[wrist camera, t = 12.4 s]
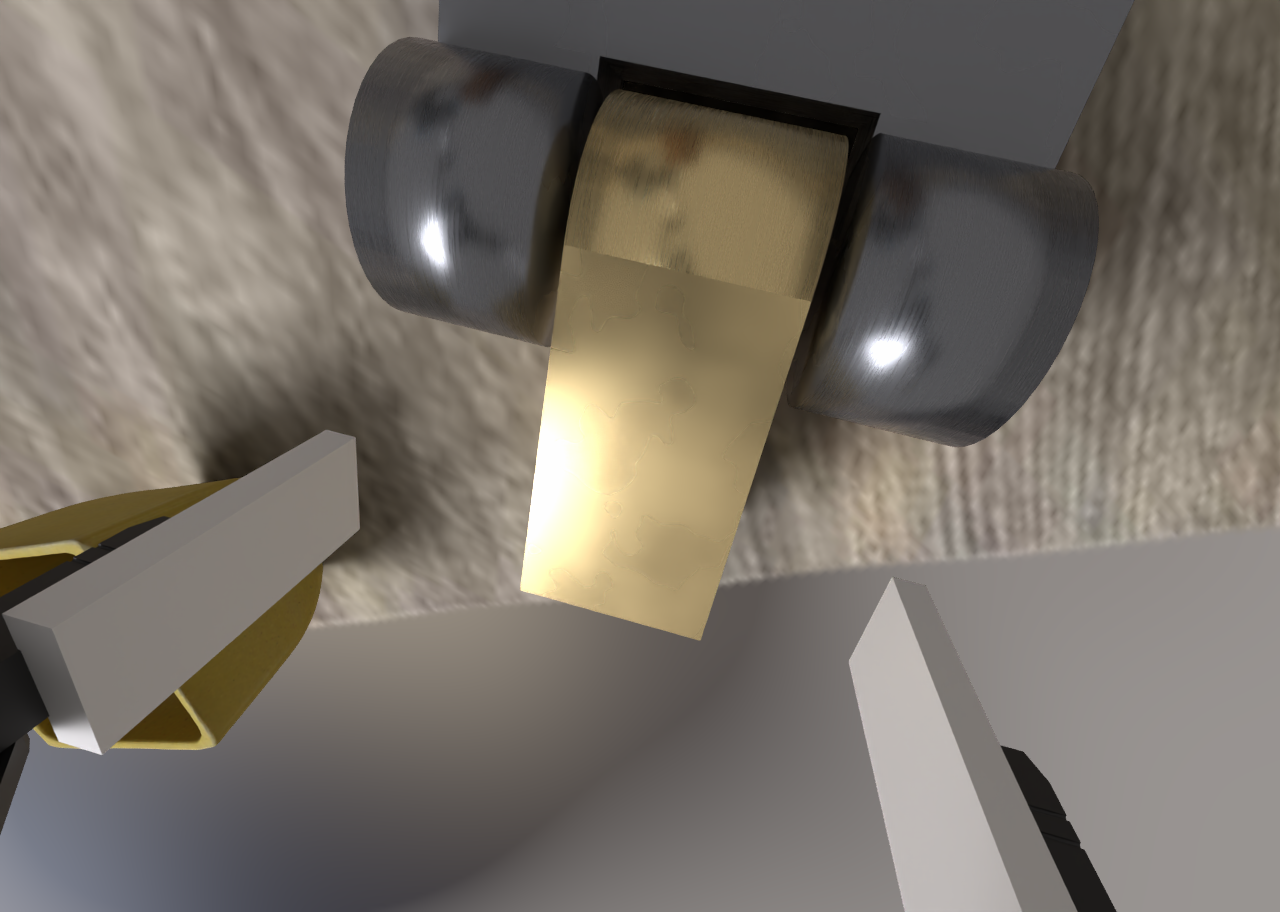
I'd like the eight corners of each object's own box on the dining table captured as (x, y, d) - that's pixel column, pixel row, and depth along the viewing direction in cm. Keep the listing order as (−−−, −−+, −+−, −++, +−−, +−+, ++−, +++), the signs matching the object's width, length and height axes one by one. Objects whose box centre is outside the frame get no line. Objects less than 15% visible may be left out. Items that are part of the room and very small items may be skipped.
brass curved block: (645, 111, 17) (587, 58, 11) (825, 149, 17) (871, 115, 10) (582, 484, 23) (520, 590, 17) (713, 519, 23) (700, 640, 16)
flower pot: (149, 454, 26) (-113, 563, 18) (296, 430, 24) (74, 542, 16) (236, 602, 30) (47, 749, 22) (373, 592, 28) (220, 751, 20)
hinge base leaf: (500, -170, 15) (321, -441, 9) (1107, -64, 14) (1409, -288, 7) (472, 294, 20) (350, 334, 14) (905, 399, 19) (982, 493, 13)
